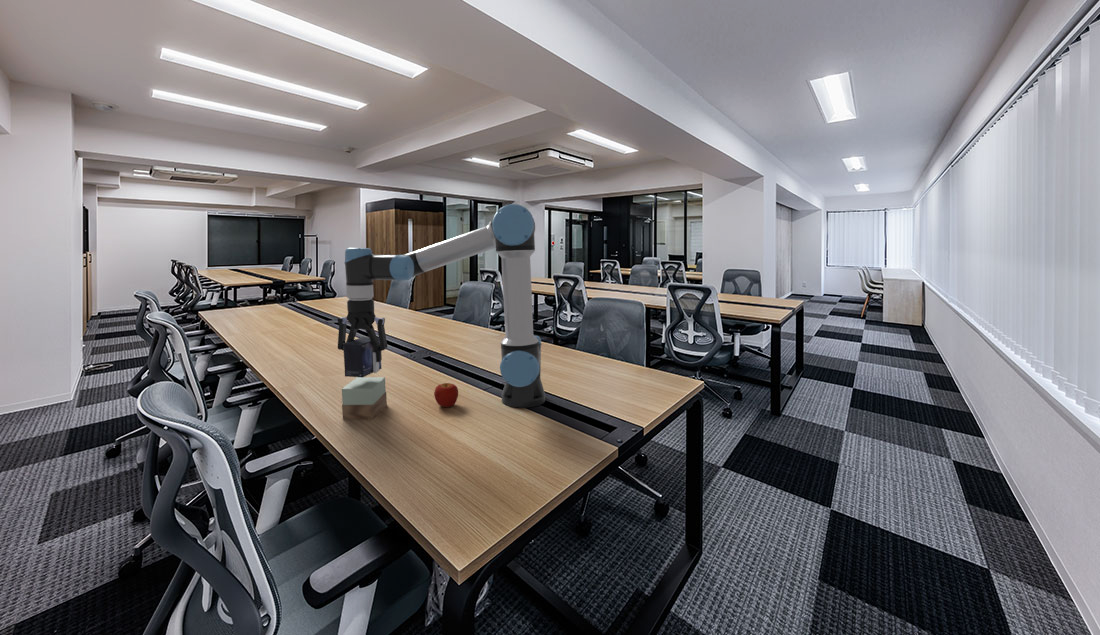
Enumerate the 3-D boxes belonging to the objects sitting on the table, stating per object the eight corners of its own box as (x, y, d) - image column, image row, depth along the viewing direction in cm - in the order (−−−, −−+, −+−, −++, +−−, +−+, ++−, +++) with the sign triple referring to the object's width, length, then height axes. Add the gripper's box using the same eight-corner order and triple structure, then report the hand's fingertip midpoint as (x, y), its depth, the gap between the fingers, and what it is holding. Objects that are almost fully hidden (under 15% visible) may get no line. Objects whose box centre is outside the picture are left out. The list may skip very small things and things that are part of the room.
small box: (363, 378, 128) (361, 343, 126) (344, 377, 129) (341, 343, 127) (383, 368, 138) (380, 337, 137) (364, 368, 139) (362, 336, 138)
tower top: (385, 391, 141) (385, 377, 140) (373, 404, 129) (372, 388, 128) (357, 391, 140) (356, 377, 140) (342, 404, 128) (341, 388, 128)
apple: (433, 410, 137) (433, 387, 136) (435, 402, 145) (434, 380, 144) (458, 409, 139) (458, 386, 138) (458, 401, 147) (458, 379, 145)
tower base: (386, 406, 142) (386, 391, 141) (372, 420, 130) (371, 404, 129) (359, 405, 142) (358, 391, 141) (342, 420, 130) (341, 404, 129)
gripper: (397, 298, 134) (399, 368, 137) (333, 297, 133) (337, 367, 137) (389, 300, 126) (391, 375, 130) (321, 299, 126) (325, 374, 130)
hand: (363, 371), depth 133 cm, fingers closed on small box, 7 cm apart
